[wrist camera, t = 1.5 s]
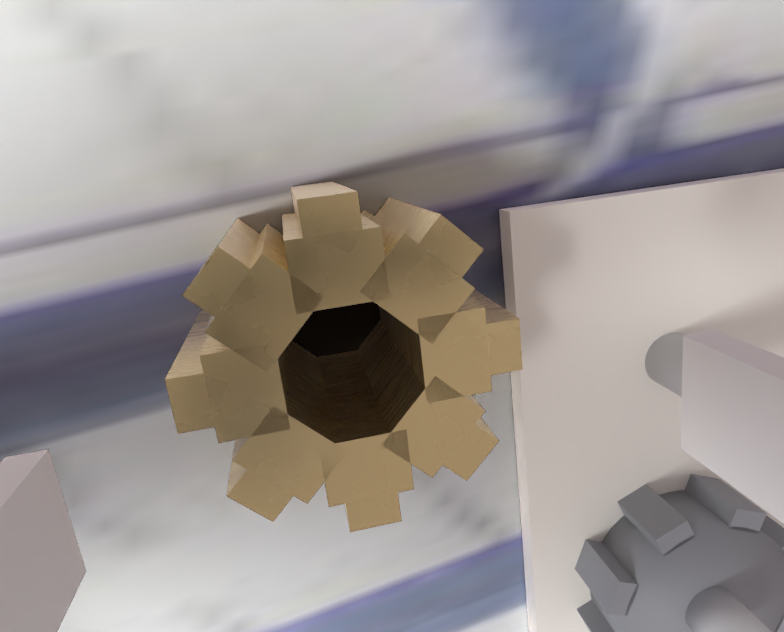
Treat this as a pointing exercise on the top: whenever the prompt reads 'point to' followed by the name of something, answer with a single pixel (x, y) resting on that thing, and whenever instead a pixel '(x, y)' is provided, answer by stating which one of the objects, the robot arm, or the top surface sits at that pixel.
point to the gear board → (639, 405)
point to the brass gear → (342, 355)
